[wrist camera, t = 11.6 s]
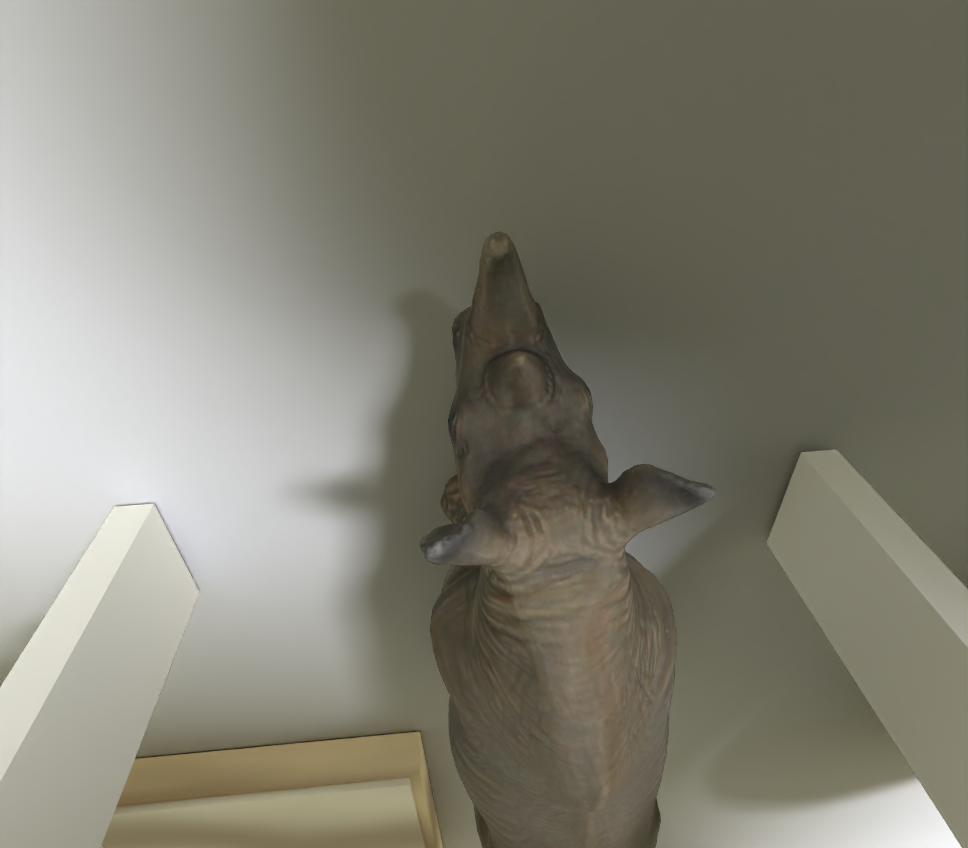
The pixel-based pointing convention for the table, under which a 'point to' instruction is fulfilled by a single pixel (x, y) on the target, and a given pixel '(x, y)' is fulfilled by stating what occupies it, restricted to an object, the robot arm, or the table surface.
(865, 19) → the table surface
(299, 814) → the board
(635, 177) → the table surface
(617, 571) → the rhino figurine
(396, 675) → the table surface
